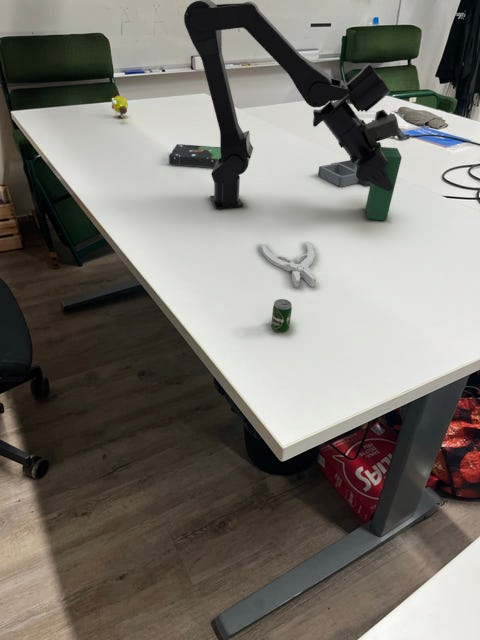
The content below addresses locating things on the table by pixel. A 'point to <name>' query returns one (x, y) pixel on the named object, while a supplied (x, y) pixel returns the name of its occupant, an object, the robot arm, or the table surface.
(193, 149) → the disk drive
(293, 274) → the pliers
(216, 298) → the table surface
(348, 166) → the compartment tray
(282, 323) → the beer can
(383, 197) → the green rectangular block
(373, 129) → the robot arm
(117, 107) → the toy figure
